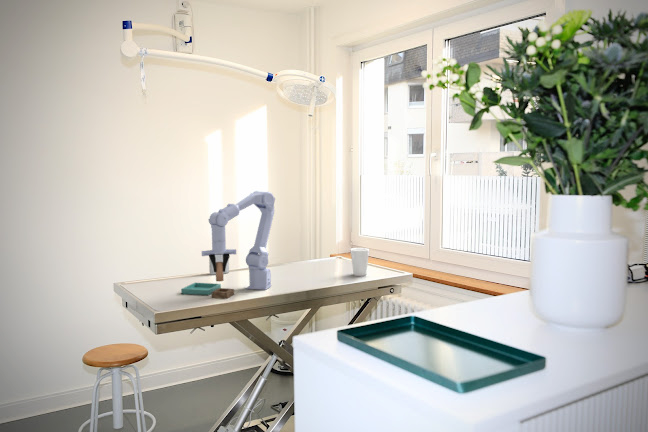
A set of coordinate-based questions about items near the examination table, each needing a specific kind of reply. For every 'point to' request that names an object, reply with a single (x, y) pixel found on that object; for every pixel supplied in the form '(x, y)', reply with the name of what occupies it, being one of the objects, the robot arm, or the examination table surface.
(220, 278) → the dowel
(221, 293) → the walnut holder
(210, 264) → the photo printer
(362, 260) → the foam cup
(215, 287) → the teal tray
